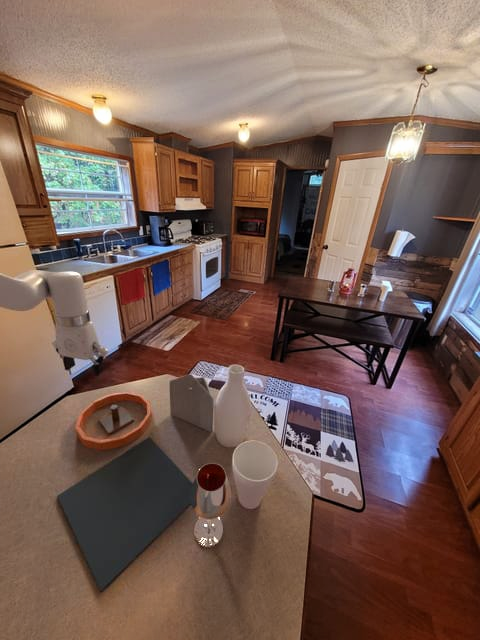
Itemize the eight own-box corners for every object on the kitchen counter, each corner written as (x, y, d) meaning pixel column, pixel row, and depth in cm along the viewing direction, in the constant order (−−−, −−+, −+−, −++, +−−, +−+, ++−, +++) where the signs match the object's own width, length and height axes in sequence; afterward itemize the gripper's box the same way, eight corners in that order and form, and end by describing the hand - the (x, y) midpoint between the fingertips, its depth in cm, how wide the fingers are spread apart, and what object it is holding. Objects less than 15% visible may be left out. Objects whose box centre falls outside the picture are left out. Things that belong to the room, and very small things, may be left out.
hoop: (67, 420, 80) (65, 413, 79) (131, 390, 95) (130, 384, 94) (95, 463, 68) (93, 456, 67) (163, 421, 83) (162, 414, 82)
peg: (98, 421, 81) (95, 406, 79) (122, 408, 87) (120, 394, 84) (109, 435, 76) (106, 420, 74) (134, 421, 82) (132, 407, 80)
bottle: (229, 417, 87) (234, 353, 77) (255, 435, 81) (264, 369, 70) (205, 436, 79) (207, 368, 69) (231, 458, 73) (238, 387, 62)
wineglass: (231, 516, 59) (237, 463, 52) (220, 559, 52) (225, 504, 44) (198, 505, 60) (199, 453, 53) (183, 545, 53) (182, 490, 46)
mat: (57, 497, 60) (56, 495, 60) (149, 437, 77) (149, 436, 77) (101, 592, 46) (100, 591, 46) (201, 494, 63) (201, 493, 63)
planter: (223, 416, 87) (226, 369, 79) (211, 432, 80) (213, 383, 73) (184, 400, 93) (183, 355, 85) (170, 414, 86) (167, 366, 78)
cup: (253, 530, 57) (259, 492, 51) (220, 497, 63) (222, 459, 57) (278, 495, 64) (286, 458, 59) (246, 468, 70) (251, 432, 65)
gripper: (33, 318, 66) (48, 372, 73) (91, 328, 64) (101, 383, 71) (57, 309, 73) (69, 359, 80) (111, 317, 71) (118, 368, 78)
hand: (84, 370), depth 75 cm, fingers open, 9 cm apart
